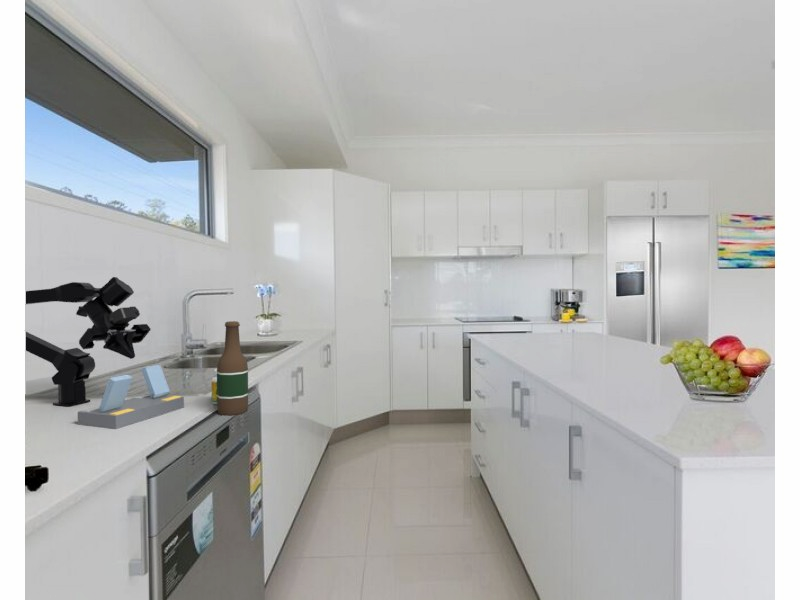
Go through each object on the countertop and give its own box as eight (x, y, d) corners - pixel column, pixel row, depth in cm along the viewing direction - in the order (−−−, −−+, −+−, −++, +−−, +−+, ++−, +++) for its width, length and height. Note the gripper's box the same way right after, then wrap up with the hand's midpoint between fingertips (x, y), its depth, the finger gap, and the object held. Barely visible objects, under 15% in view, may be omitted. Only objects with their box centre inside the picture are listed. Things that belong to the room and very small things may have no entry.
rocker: (151, 399, 124) (141, 369, 125) (166, 395, 129) (156, 366, 130) (156, 397, 123) (145, 367, 124) (170, 393, 128) (160, 364, 129)
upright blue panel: (98, 410, 110) (109, 378, 108) (117, 405, 114) (128, 374, 113) (102, 413, 109) (114, 381, 108) (121, 408, 114) (132, 377, 113)
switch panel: (77, 424, 111) (77, 411, 111) (149, 404, 131) (149, 393, 131) (115, 428, 107) (115, 415, 107) (183, 407, 127) (183, 396, 127)
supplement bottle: (229, 399, 137) (229, 367, 137) (233, 403, 132) (233, 369, 132) (209, 402, 134) (209, 369, 134) (213, 405, 129) (213, 371, 129)
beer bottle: (230, 417, 117) (229, 322, 117) (210, 413, 121) (210, 321, 121) (254, 411, 124) (254, 321, 123) (235, 407, 128) (234, 320, 127)
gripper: (86, 297, 121) (119, 341, 118) (145, 297, 139) (175, 334, 136) (64, 326, 124) (96, 370, 121) (125, 322, 142) (154, 360, 138)
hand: (133, 357), depth 129 cm, fingers closed
